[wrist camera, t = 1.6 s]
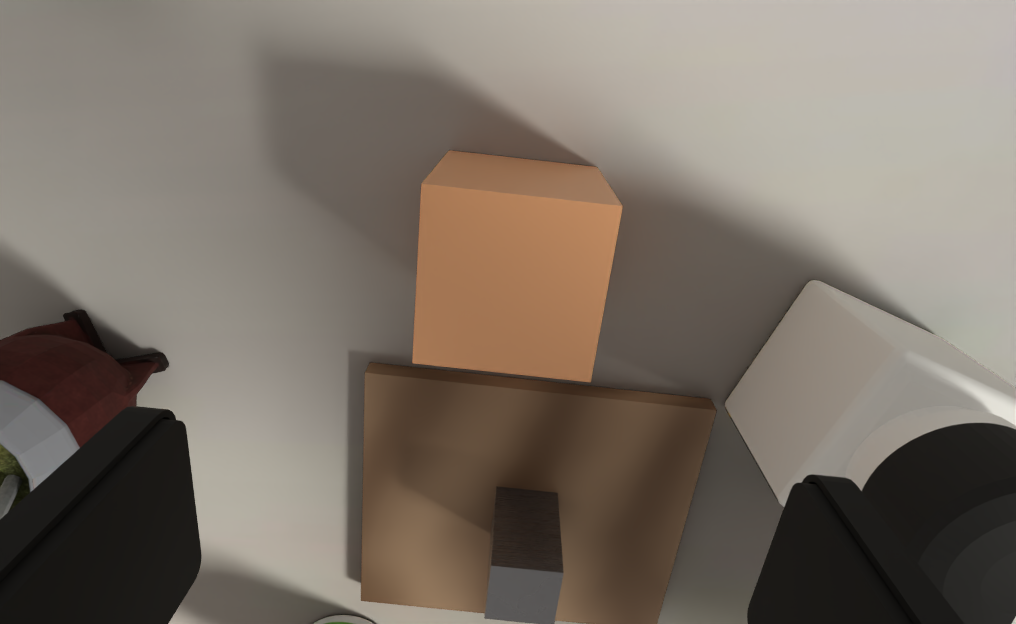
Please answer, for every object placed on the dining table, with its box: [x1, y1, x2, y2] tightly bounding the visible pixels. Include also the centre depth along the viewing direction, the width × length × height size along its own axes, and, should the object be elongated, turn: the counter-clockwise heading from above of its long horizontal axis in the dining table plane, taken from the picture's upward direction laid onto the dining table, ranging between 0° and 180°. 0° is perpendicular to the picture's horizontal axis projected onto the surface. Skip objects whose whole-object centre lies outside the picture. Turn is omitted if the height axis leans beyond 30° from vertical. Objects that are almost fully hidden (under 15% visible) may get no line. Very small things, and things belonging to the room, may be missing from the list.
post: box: [484, 486, 564, 624], centre depth 28 cm, size 3×3×5 cm
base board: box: [361, 362, 717, 624], centre depth 31 cm, size 16×14×1 cm
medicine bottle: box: [725, 280, 1016, 624], centre depth 22 cm, size 7×7×12 cm
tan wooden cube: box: [412, 150, 623, 382], centre depth 22 cm, size 6×6×7 cm
